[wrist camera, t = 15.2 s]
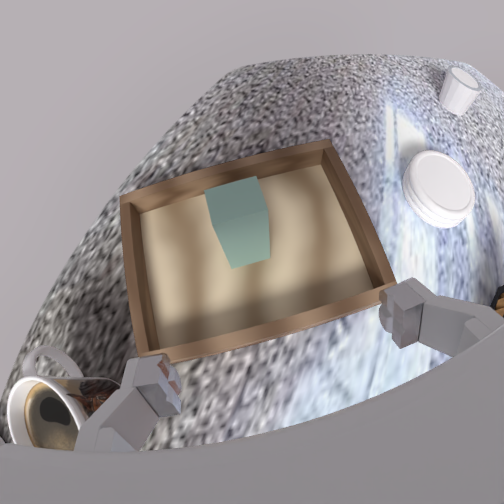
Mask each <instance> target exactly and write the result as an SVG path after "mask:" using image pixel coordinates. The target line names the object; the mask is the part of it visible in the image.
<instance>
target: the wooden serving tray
mask: <svg viewBox="0 0 504 504" xmlns="http://www.w3.org/2000/svg"><path fill="white" fill-rule="evenodd" d="M254 176H257V179H258V182H259V185H260V188H261V191H262V193H263V196H264V199H265V202H266V205H267V208H268V217H269V238H270V258H269V259H266V260H262V261H259V262H255V263H252V264H248V265H245V266H241V267H238V268H234V269H231V266H230V264H229V262H228V260H227V258H226V255H225V253H224V251H223V249H222V246H221V244H220V242H219V240H218V237H217V235H216V233H215V231H214V228H213V226H212V222H211V218H210V214H209V210H208V206H207V201H206V197H205V193H204V190H207V189H210V188H214V187H217V186H221V185H224V184H228V183H231V182H235V181H239V180H242V179H246V178H250V177H254ZM120 217H121V234H122V247H123V258H124V268H125V277H126V285H127V293H128V300H129V307H130V314H131V320H132V326H133V332H134V337H135V343H136V348H137V353H138V357H142V356H148V355H154V354H159V353H166V354H167V355H168V357H169V358H170V360H171V361H170V364H174V363H179V362H183V361H188V360H193V359H197V358H202V357H206V356H210V355H215V354H219V353H223V352H227V351H231V350H235V349H239V348H243V347H247V346H250V345H254V344H258V343H261V342H265V341H269V340H272V339H276V338H279V337H283V336H286V335H289V334H293V333H296V332H299V331H302V330H306V329H309V328H312V327H315V326H318V325H321V324H324V323H327V322H330V321H333V320H336V319H339V318H342V317H345V316H348V315H351V314H354V313H356V312H359V311H362V310H365V309H368V308H370V307H373V306H376V305H378V304H381V302H380V301H379V292H380V290H383V289H386V288H388V287H391V286H393V285H396V284H397V282H396V279H395V277H394V274H393V272H392V269H391V267H390V264H389V262H388V259H387V257H386V254H385V252H384V249H383V247H382V245H381V242H380V240H379V238H378V235H377V233H376V231H375V229H374V226H373V224H372V222H371V220H370V217H369V215H368V213H367V211H366V209H365V207H364V205H363V203H362V200H361V198H360V196H359V194H358V192H357V190H356V188H355V186H354V184H353V182H352V180H351V178H350V176H349V174H348V173H347V171H346V169H345V167H344V165H343V163H342V161H341V159H340V157H339V156H338V154H337V152H336V150H335V148H334V147H333V145H332V143H331V141H330V139H326V140H321V141H316V142H311V143H306V144H301V145H296V146H292V147H287V148H282V149H278V150H274V151H269V152H265V153H261V154H257V155H253V156H249V157H245V158H241V159H237V160H233V161H229V162H226V163H222V164H218V165H215V166H211V167H208V168H204V169H201V170H197V171H194V172H191V173H187V174H184V175H181V176H178V177H174V178H171V179H168V180H165V181H162V182H159V183H156V184H153V185H150V186H147V187H144V188H141V189H138V190H136V191H133V192H130V193H127V194H124V195H122V196H120Z"/></svg>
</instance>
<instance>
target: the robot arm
mask: <svg viewBox="0 0 504 504" xmlns="http://www.w3.org/2000/svg"><path fill="white" fill-rule="evenodd" d="M379 301H380V302H381V303H382V305H381V306H380V308H379V318H380V322H381V324H382V326H383V328H384V329H385V331H386V332H389V333H392V339H393V341H394V342H395V343H396V344H397V346H398V347H399V348H400V349H401V348H404V347H406V346H408V345H411V344H413V343H415V342H417V341H419V342H420V343H422V344H424V345H426V346H429V347H431V348H433V349H435V350H438V351H440V352H442V353H444V354H447V355H449V356H451V357H453V358H451V359H449V360H448V361H446V362H444V363H442V364H440V365H439V366H437V367H435V368H433V369H431V370H429V371H428V372H426V373H424V374H422V375H420V376H418V377H416V378H414V379H412V380H410V381H408V382H406V383H404V384H402V385H400V386H397V387H395V388H393V389H391V390H389V391H386V392H384V393H382V394H380V395H377V396H375V397H373V398H370V399H368V400H365V401H363V402H360V403H358V404H355V405H353V406H350V407H347V408H345V409H342V410H339V411H336V412H334V413H331V414H328V415H325V416H322V417H319V418H316V419H313V420H309V421H306V422H303V423H300V424H296V425H293V426H289V427H285V428H282V429H278V430H274V431H270V432H266V433H262V434H258V435H253V436H249V437H244V438H239V439H234V440H229V441H224V442H218V443H212V444H205V445H199V446H191V447H183V448H174V449H164V450H151V451H140V449H141V448H142V446H143V444H144V443H145V441H146V440H147V438H148V437H149V435H150V433H151V432H152V430H153V429H154V427H155V426H156V424H157V422H158V421H159V419H160V417H166V416H172V415H178V414H180V407H181V400H180V399H179V397H178V395H179V394H180V392H181V381H180V377H179V374H178V372H177V370H176V369H175V368H174V367H172V366H170V361H171V360H170V358H169V357H168V355H167V354H166V353H159V354H154V355H148V356H142V357H137V358H132V359H129V360H128V361H127V364H126V367H125V371H124V375H123V379H122V382H121V386H120V389H118V390H116V391H115V392H114V393H113V394H112V395H111V396H110V397H109V398H108V399H107V400H106V401H105V402H104V403H103V404H102V405H101V406H100V407H99V408H98V409H97V410H96V411H95V412H94V413H93V414H92V415H91V417H90V418H89V419H88V420H87V421H86V422H85V423H84V424H83V425H82V426H81V427H80V429H79V433H78V436H77V440H76V444H75V447H74V451H68V450H56V449H46V448H37V447H30V446H24V445H18V444H13V443H5V442H4V441H3V439H2V438H1V437H0V504H504V318H503V317H502V316H500V315H499V314H498V313H497V312H496V311H494V310H493V309H492V308H491V307H489V306H485V305H480V304H476V303H472V302H467V301H463V300H458V299H454V298H449V297H445V296H441V295H440V296H436V295H435V294H433V293H432V292H431V291H430V290H429V289H428V288H426V287H425V286H424V285H423V284H422V283H420V282H419V281H418V280H417V279H415V278H410V279H407V280H405V281H403V282H401V283H398V284H396V285H393V286H391V287H388V288H386V289H383V290H380V292H379Z"/></svg>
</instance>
